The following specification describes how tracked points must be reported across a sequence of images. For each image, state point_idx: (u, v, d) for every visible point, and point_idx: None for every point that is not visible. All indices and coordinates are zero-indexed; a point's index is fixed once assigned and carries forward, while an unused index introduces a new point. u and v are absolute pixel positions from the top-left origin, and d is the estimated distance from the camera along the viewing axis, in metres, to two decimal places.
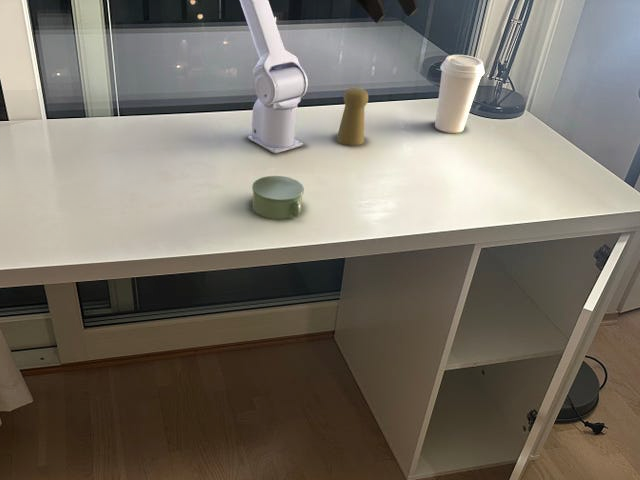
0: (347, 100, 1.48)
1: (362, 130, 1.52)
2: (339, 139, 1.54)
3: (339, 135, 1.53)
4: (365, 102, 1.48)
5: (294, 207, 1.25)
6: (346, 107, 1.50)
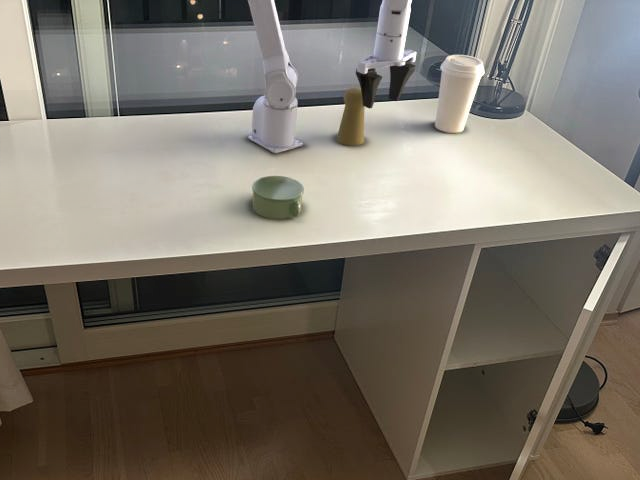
0: (347, 100, 1.48)
1: (362, 130, 1.52)
2: (339, 139, 1.54)
3: (339, 135, 1.53)
4: None
5: (294, 207, 1.25)
6: (346, 107, 1.50)
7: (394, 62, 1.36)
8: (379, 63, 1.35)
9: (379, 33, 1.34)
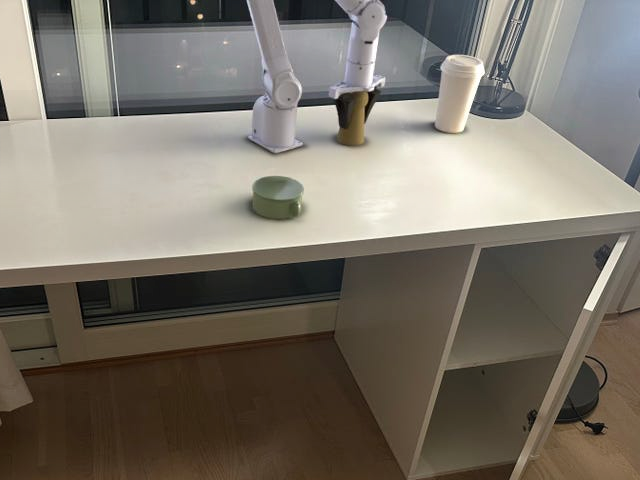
0: None
1: (362, 130, 1.52)
2: (339, 139, 1.54)
3: (339, 135, 1.53)
4: (365, 102, 1.48)
5: (294, 207, 1.25)
6: None
7: (363, 88, 1.45)
8: (349, 89, 1.44)
9: (349, 61, 1.43)
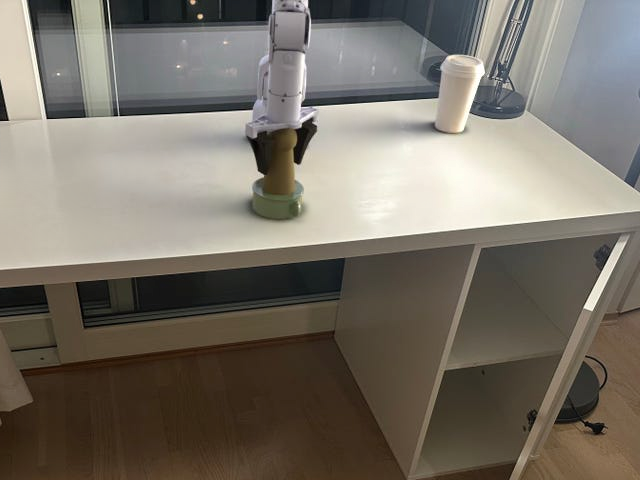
0: None
1: (291, 176, 1.25)
2: (264, 187, 1.26)
3: (264, 182, 1.26)
4: (293, 144, 1.21)
5: (294, 207, 1.25)
6: None
7: (288, 124, 1.17)
8: (270, 126, 1.16)
9: (269, 91, 1.15)
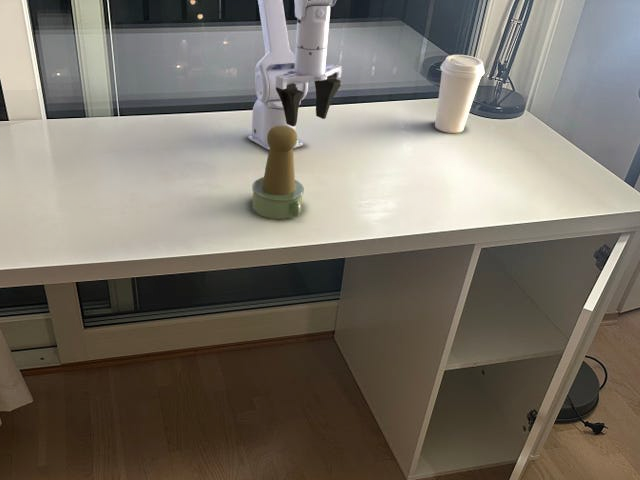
0: (270, 141, 1.20)
1: (291, 176, 1.25)
2: (264, 187, 1.26)
3: (264, 182, 1.26)
4: (293, 144, 1.21)
5: (294, 207, 1.25)
6: (270, 149, 1.22)
7: (315, 76, 1.28)
8: (299, 78, 1.27)
9: (297, 46, 1.26)
